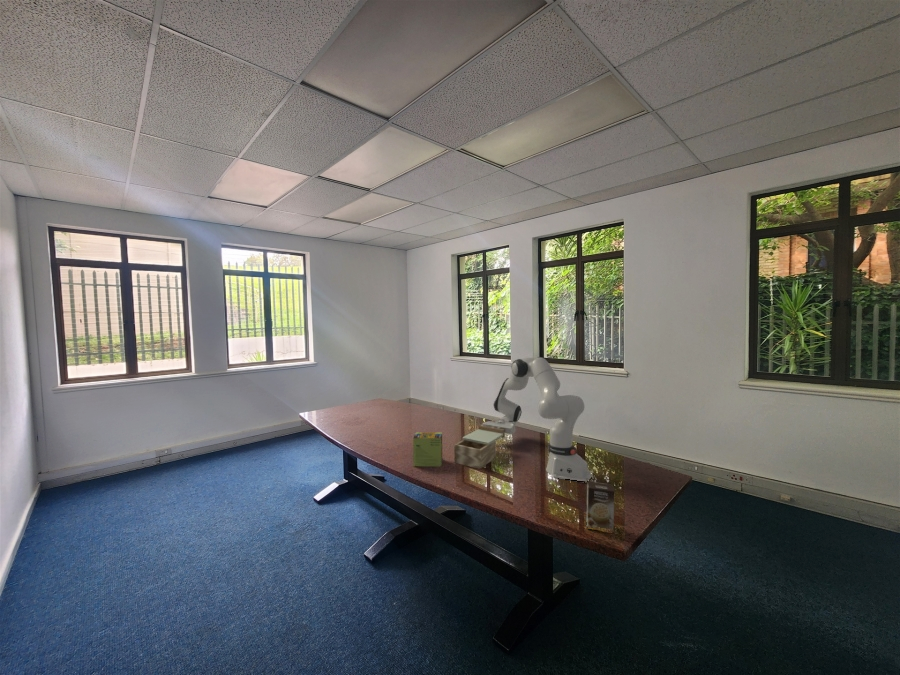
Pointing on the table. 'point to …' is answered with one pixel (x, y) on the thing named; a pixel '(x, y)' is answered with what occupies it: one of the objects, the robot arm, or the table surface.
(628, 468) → the table surface
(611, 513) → the coffee box
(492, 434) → the lid
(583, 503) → the table surface
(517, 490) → the table surface
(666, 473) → the table surface
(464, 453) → the crate
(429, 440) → the protein box
